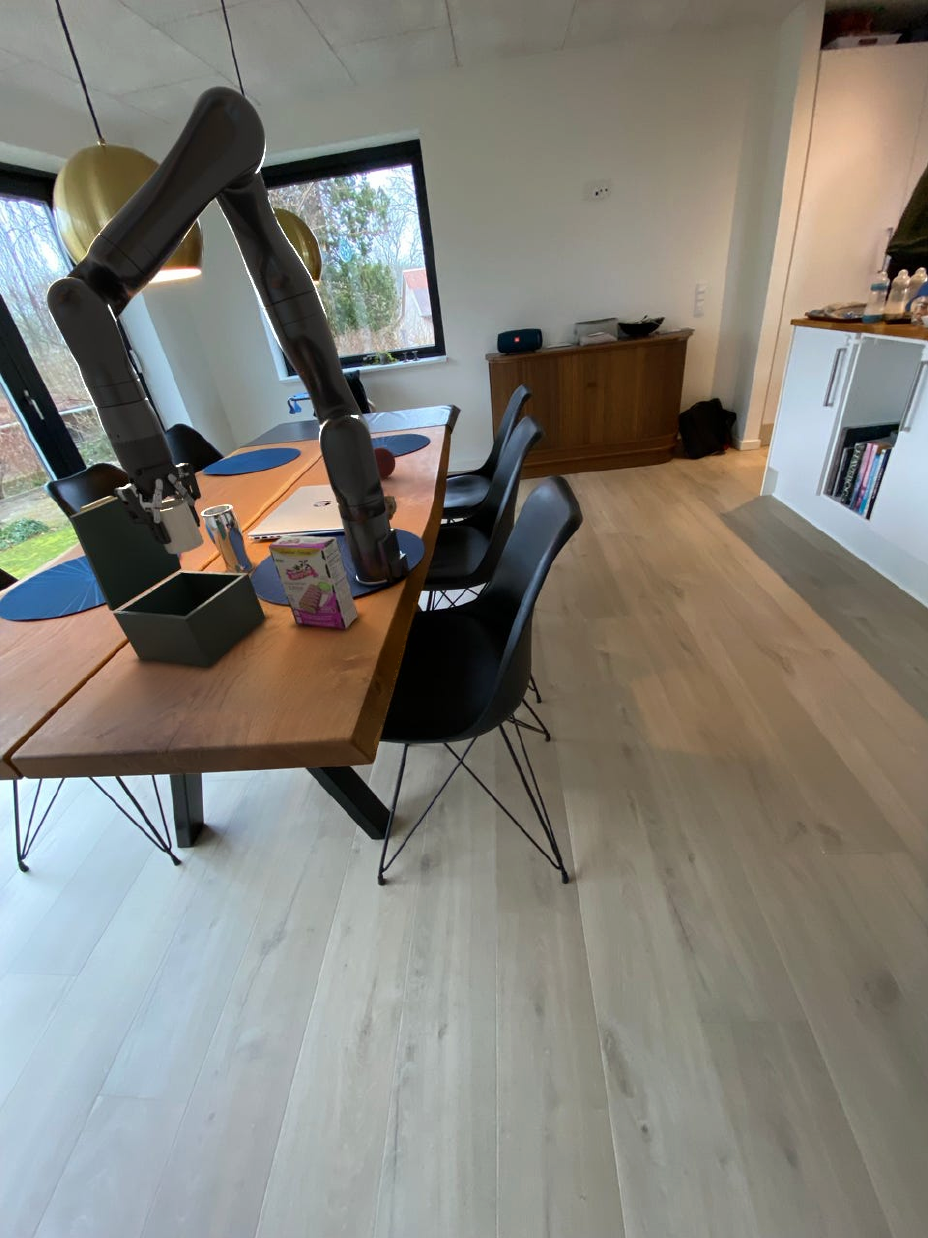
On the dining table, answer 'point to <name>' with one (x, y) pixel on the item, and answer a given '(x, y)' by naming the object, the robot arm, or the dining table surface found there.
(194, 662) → the open lidded box
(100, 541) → the lid
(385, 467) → the decorative ball
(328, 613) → the candy bar box
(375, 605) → the dining table surface
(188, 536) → the cup
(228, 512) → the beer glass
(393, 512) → the lion figurine
